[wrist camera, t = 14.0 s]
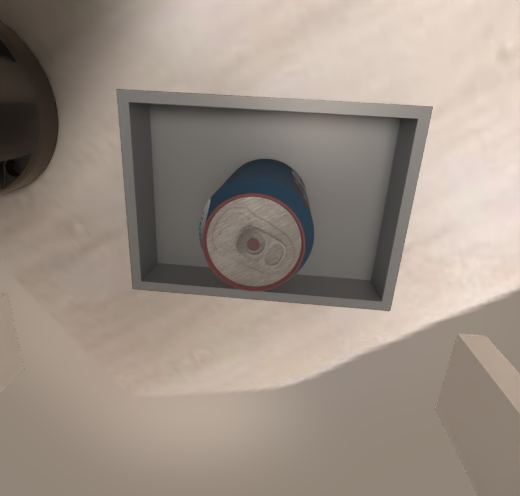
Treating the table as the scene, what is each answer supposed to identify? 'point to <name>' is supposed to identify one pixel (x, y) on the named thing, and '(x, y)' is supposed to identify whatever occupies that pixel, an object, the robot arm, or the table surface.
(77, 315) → the table surface
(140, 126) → the bin
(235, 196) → the soda can
